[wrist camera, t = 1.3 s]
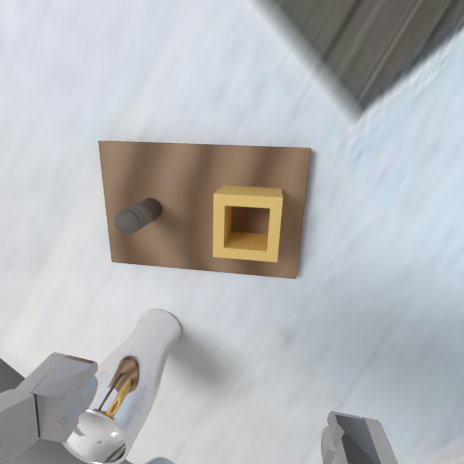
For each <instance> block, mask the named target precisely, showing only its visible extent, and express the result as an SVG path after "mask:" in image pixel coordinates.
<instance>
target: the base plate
mask: <svg viewBox="0 0 464 464" xmlns="http://www.w3.org/2000/svg"><path fill="white" fill-rule="evenodd" d="M98 143H99V152H100V161H101V170H102V179H103V188H104V197H105V206H106V215H107V224H108V233H109V242H110V251H111V260H112V262H117V263H128V264H139V265H150V266H160V267H171V268H182V269H193V270H204V271H215V272H226V273H237V274H248V275H259V276H270V277H281V278H292V279H296V276H297V267H298V259H299V250H300V241H301V232H302V224H303V215H304V206H305V198H306V189H307V180H308V171H309V163H310V154H311V148H294V147H266V146H237V145H209V144H180V143H152V142H124V141H98ZM223 185H226V186H245V187H264V188H281V189H282V195H283V203H282V215H281V226H280V237H279V248H278V259H277V262H267V261H255V260H243V259H232V258H220V257H213V204H214V193H215V192H216V191H217V190H218V189H220V188H221V187H222V186H223ZM269 213H270V208H256V207H240V206H232V222H231V232H244V233H258V234H268V226H269Z"/></svg>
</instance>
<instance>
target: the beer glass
mask: <svg viewBox="0 0 464 464" xmlns="http://www.w3.org/2000/svg"><path fill="white" fill-rule="evenodd" d="M180 337H181V327H180V324H179V322H178V321H177V319H176V318H175V317H174V316H173V315H172V314H170V313H168V312H166V311H164V310H159V309H153V310H149V311H147V312H145V313H144V314H142V316H141V317H140V318H139V320H138V323H137V325H136V327H135V329H134V331H133V333H132V334H131V335H130V337H129V338H128V339H127V340H126V341H125V342H124V343H122V344H121V345H120V346H119V347H118V348H117V349H116V350H115V351H113V352H112V353H111V354H110V355H109V356H108V357H107V358H106V359H105V360H104V361H103V362H102V363H101V364H100V365H99V366H98V371H97V372H96V373H95V377H96V378H97V380H98V388H97V392H96V395H95V397H94V400H93V402H92V404H91V405H90V407H89V408H88V410H87V411H85V412H84V413H82V414H80V415H79V423H78V425H77V426H76V428H75V429H74V431H73V432H72V434H71V435H70V437H69V438H68V440H67V441H66V443H62V444H63V445H64V446H65V448H66V449H67V450H68V451H69V452H70V453H72V454H73V455H74V456H75V457H77V458H79V459H80V460H82V461H84V462H87V463H89V464H119V463H121V462H122V461H124V459H126V457H127V456H128V453H129V451H130V449H131V447H132V445H133V444H134V442H135V440H136V438H137V437H138V435H139V433H140V431H141V429H142V427H143V426H144V424H145V422H146V419H147V417H148V415H149V413H150V411H151V409H152V406H153V404H154V402H155V399H156V396H157V393H158V390H159V387H160V383H161V379H162V375H163V371H164V367H165V363H166V360H167V357H168V355H169V353H170V352H171V350H172V349H173V348H174V346H175V345H176V344H177V343H178V341H179V339H180Z"/></svg>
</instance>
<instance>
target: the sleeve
mask: <svg viewBox="0 0 464 464" xmlns="http://www.w3.org/2000/svg"><path fill="white" fill-rule="evenodd" d="M282 203H283V195H282V189H281V188H264V187H245V186H226V185H223V186H222V187H221V188H220V189H218V190H217V191H216V192H215V193H214V204H213V257H220V258H232V259H243V260H255V261H267V262H277V259H278V248H279V237H280V226H281V215H282ZM232 206H240V207H256V208H270V213H269V226H268V234H258V233H244V232H231V222H232Z"/></svg>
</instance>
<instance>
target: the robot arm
mask: <svg viewBox="0 0 464 464" xmlns="http://www.w3.org/2000/svg"><path fill="white" fill-rule="evenodd" d="M97 371H98V364H97V362H95V361H90V360H86V359H82V358H78V357H74V356H70V355H65V354H60V353H56V352H55V353H53V354H51V355H50V356H48V357H47V358H46V359H45V360H44V361H43V362H42V363H41V364H40V365H39V366H38V367H37V368H36V369H35V370H34V371H33V372H32V373H31V374H30V375H29V376H28V377H27V378H26V379H25V380H24V381H23V382H22V383H21V384H20V385H19V386H18V387H17V388H16V389H15V390H11V389H9V390H8V391H5V392H3V393H0V464H6V463H7V462H9V461H10V460H12V459H13V458H14V457H16V456H17V455H18V454H20V453H21V452H23V451H24V450H26V449H27V448H28V447H30V446H31V445H32V444H34V443H35V442H37V441H38V440H39V438H41V439H46V440H51V441H56V442H61V443H66V441H67V440H68V438H69V437H70V435H71V434H72V432H73V431H74V429H75V428H76V426H77V425H78V423H79V415H80V414H82V413H84V412H85V411H87V410H88V408H89V407H90V405H91V404H92V402H93V400H94V397H95V395H96V392H97V388H98V380H97V378H96V377H95V373H96V372H97ZM327 420H328V425H329V426H328V427H326V428H324V430H323V433H322V438H321V454H322V460H323V463H324V464H398V462H397V460H396V458H395V455H394V453H393V451H392V448H391V446H390V444H389V441H388V439H387V436H386V434H385V432H384V429H383V427H382V425H381V423H380V422H379V421H378V420H373V419H368V418H363V417H359V416H354V415H349V414H344V413H339V412H334V411H331V412H330V413H329V416H328V418H327Z"/></svg>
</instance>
